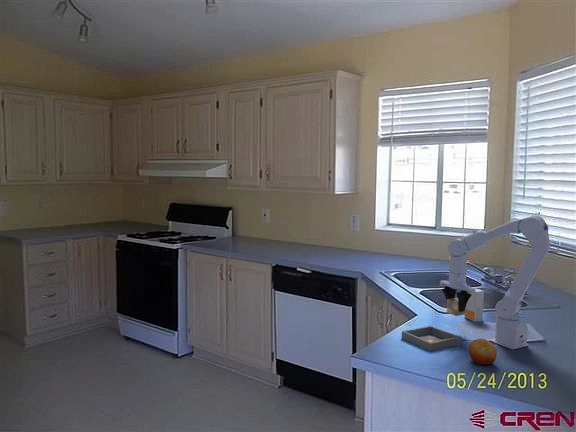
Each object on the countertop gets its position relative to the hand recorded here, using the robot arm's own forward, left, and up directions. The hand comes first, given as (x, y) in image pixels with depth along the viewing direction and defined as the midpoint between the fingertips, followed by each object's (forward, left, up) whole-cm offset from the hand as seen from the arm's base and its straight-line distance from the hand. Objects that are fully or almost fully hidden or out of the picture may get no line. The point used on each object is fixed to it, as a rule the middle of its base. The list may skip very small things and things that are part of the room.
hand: (456, 309), depth 174 cm
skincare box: (+8, -19, -9) cm, 23 cm away
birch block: (0, 0, -1) cm, 1 cm away
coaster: (-3, +15, -8) cm, 17 cm away
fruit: (-24, +15, -9) cm, 29 cm away
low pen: (-3, +15, -8) cm, 17 cm away
